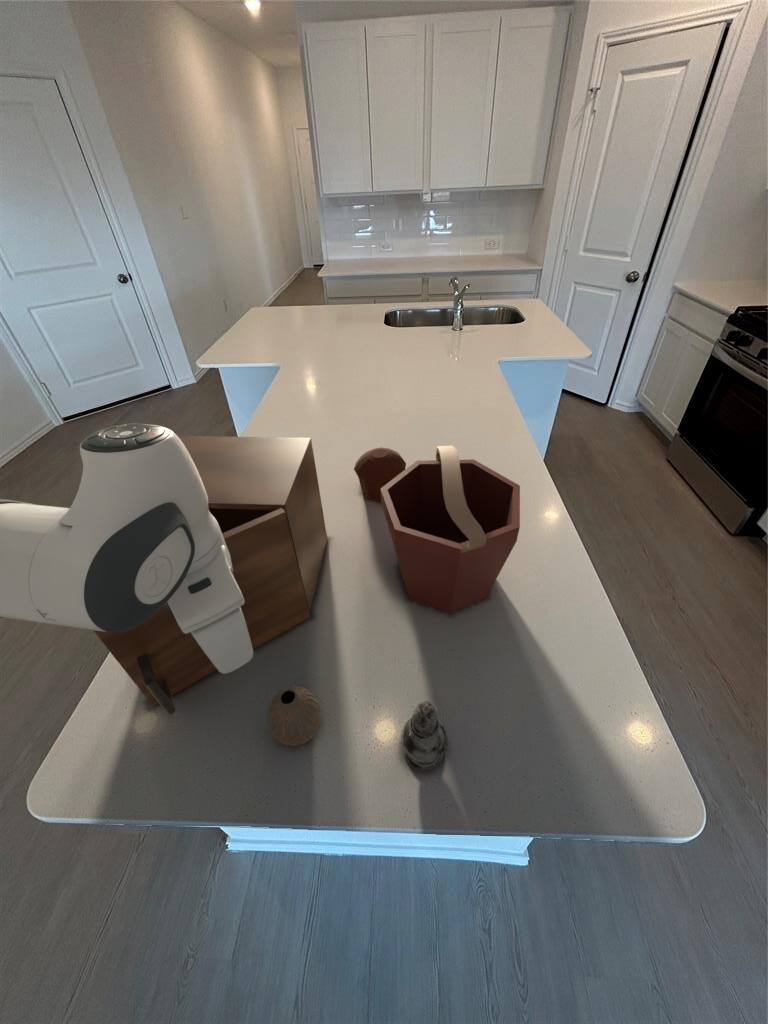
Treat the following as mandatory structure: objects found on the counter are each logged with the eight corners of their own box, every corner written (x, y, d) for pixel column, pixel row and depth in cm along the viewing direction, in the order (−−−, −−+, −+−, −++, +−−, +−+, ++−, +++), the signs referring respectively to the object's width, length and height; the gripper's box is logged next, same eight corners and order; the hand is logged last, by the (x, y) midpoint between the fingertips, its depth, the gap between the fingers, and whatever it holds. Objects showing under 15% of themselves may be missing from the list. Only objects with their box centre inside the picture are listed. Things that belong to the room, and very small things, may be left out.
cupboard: (309, 611, 76) (284, 504, 61) (166, 605, 78) (107, 500, 63) (327, 539, 90) (311, 437, 74) (205, 535, 92) (164, 435, 76)
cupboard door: (324, 637, 72) (302, 532, 57) (162, 735, 61) (79, 636, 46) (306, 612, 76) (281, 507, 61) (150, 699, 65) (71, 598, 49)
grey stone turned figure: (453, 741, 59) (460, 697, 51) (433, 782, 55) (437, 742, 48) (414, 718, 62) (416, 673, 54) (393, 756, 58) (391, 714, 50)
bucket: (500, 642, 70) (528, 528, 54) (367, 619, 75) (356, 506, 58) (504, 538, 88) (526, 429, 72) (397, 524, 93) (395, 418, 76)
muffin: (389, 469, 108) (388, 434, 101) (415, 492, 101) (416, 455, 94) (347, 486, 103) (343, 450, 97) (371, 511, 96) (369, 474, 90)
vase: (328, 706, 63) (321, 674, 58) (316, 757, 58) (306, 728, 52) (282, 700, 64) (270, 668, 59) (266, 749, 59) (251, 720, 53)
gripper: (134, 520, 53) (174, 593, 62) (184, 638, 40) (224, 708, 49) (186, 500, 56) (217, 573, 65) (248, 604, 43) (276, 676, 52)
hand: (220, 632), depth 57 cm, fingers closed
